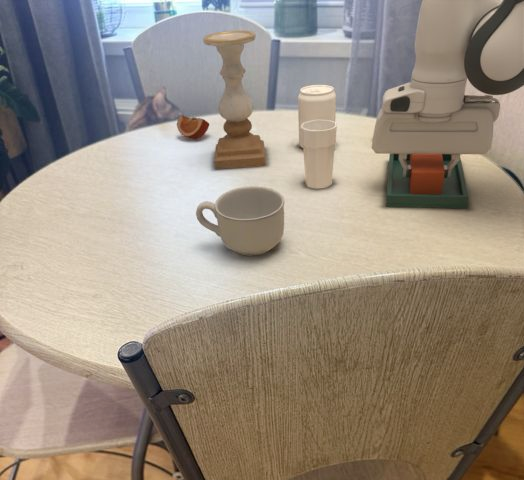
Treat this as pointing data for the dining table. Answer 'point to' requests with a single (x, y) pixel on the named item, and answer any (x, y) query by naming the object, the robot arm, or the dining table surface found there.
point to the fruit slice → (192, 127)
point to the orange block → (427, 175)
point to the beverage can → (316, 105)
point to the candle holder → (235, 105)
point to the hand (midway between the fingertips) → (425, 176)
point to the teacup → (247, 219)
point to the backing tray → (401, 197)
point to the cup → (318, 152)
